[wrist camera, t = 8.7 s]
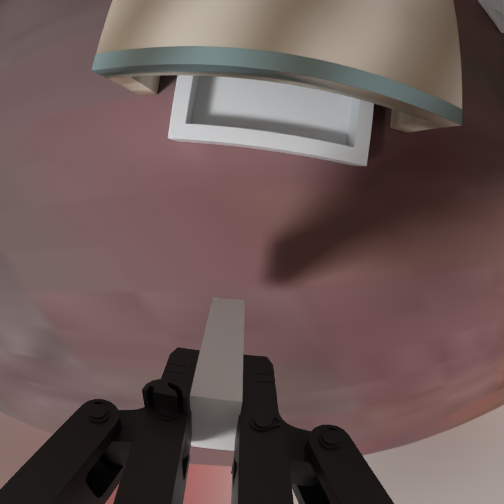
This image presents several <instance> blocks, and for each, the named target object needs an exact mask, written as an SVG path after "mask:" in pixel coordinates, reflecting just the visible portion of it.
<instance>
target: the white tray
mask: <svg viewBox="0 0 504 504" xmlns="http://www.w3.org/2000/svg"><path fill="white" fill-rule="evenodd" d="M373 108H374V103H371V102H367V101H363V100H360V99H356V98H352V97H348V96H344V95H340V94H336V93H331V92H327V91H322V90H317V89H312V88H307V87H301V86H296V85H290V84H283V83H277V82H269V81H261V80H253V79H243V78H232V77H217V76H194V75H178V77H177V82H176V88H175V94H174V100H173V106H172V113H171V119H170V126H169V134H168V139H172V140H175V141H181V142H195V143H208V144H218V145H228V146H237V147H246V148H254V149H262V150H269V151H276V152H282V153H289V154H295V155H301V156H307V157H312V158H318V159H323V160H328V161H333V162H338V163H343V164H348V165H353V166H367V160H368V153H369V145H370V137H371V128H372V119H373Z"/></svg>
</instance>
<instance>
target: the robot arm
mask: <svg viewBox="0 0 504 504" xmlns="http://www.w3.org/2000/svg"><path fill="white" fill-rule="evenodd" d="M244 302H245V301H243V300H234V299H225V298H216V297H213V299H212V303H211V307H210V311H209V315H208V320H207V324H206V328H205V332H204V336H203V340H202V345H201V349H200V351H199V350H192V349H185V348H177V349H176V350H174V351H173V352H172V353H171V354H170V356H169V359H168V361H167V365H166V367H165V370H164V372H163V375H162V378H161V379H158V380H154V381H151V382H150V383H148V384H146V385H145V387H144V388H143V389H142V392H143V399H144V405H145V407H144V408H141V409H137V410H118V409H117V407H116V406H115V405H114V404H112V403H111V402H109V401H106V400H103V399H94V400H90V401H87V402H86V403H84V404H83V405H82V406H81V407H80V408H79V409H78V410H77V411H76V412H75V413H74V414H73V415H72V416H71V417H70V418H69V419H68V420H67V421H66V422H65V423H64V424H63V425H62V426H61V427H60V428H59V429H58V430H57V431H56V432H55V433H54V434H53V435H52V436H51V437H50V438H49V439H48V440H47V441H46V443H44V445H43V446H42V447H41V448H40V449H39V450H38V451H37V452H36V453H35V454H34V455H33V456H32V457H31V458H30V459H29V460H28V461H27V462H26V463H25V464H24V465H23V466H22V467H21V468H20V469H19V470H18V471H17V472H16V474H15V475H14V476H13V477H12V478H11V479H10V480H9V481H8V482H7V483H6V484H5V485H4V486H3V487H2V488H1V489H0V504H105V503H106V501H107V500H108V498H109V497H110V496H111V494H112V493H113V491H114V490H115V488H116V487H117V485H118V484H119V483H120V484H119V487H118V490H117V493H116V497H115V500H114V503H113V504H183V499H184V492H185V485H186V478H187V473H188V466H189V460H190V455H189V451H190V445H191V446H196V447H203V448H211V449H220V450H231V451H234V460H233V466H232V472H231V473H232V499H231V504H294V503H293V494H292V489H293V491H294V493H295V496H296V498H297V500H298V503H299V504H394V503H393V501H392V500H391V498H390V497H389V495H388V494H387V493H386V491H385V489H384V488H383V486H382V485H381V483H380V482H379V480H378V479H377V477H376V476H375V474H374V473H373V471H372V470H371V468H370V467H369V465H368V464H367V462H366V461H365V459H364V458H363V456H362V454H361V453H360V451H359V450H358V448H357V447H356V445H355V444H354V442H353V441H352V439H351V438H350V436H349V435H348V434H347V433H346V432H345V431H344V430H343V429H341V428H339V427H338V426H333V425H321V426H318V427H316V428H314V429H313V430H312V431H307V430H303V429H299V428H296V427H293V426H291V425H289V424H287V423H286V422H285V421H284V420H283V419H282V418H281V416H280V415H279V411H278V404H277V395H276V386H275V378H274V369H273V364H272V363H271V362H270V360H269V359H268V358H267V357H264V356H252V355H243V346H244Z"/></svg>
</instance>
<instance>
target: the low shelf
mask: <svg viewBox="0 0 504 504" xmlns="http://www.w3.org/2000/svg"><path fill="white" fill-rule="evenodd" d="M92 71H94V72H96V73H98V74H100V75H102V76H104V77H106V78H108V79H110V80H112V81H114V82H116V83H118V84H119V85H121V86H123V87H125V88H127V89H129V90H131V91H133V92H134V93H136V94H138V95H143V94H157V92H158V86H159V81H160V75H194V76H217V77H232V78H243V79H253V80H261V81H269V82H277V83H283V84H290V85H296V86H301V87H307V88H312V89H317V90H322V91H327V92H331V93H336V94H340V95H344V96H348V97H352V98H356V99H360V100H363V101H367V102H371V103H374V104H377V105H381V106H384V107H387V108H390V109H392V111H391V122H390V128H393V129H397V130H400V131H403V132H406V133H408V132H415V131H422V130H429V129H436V128H444V127H453V126H462V112H463V109H462V71H461V55H460V44H459V34H458V27H457V20H456V13H455V8H454V2H453V0H113V1H112V4H111V7H110V9H109V12H108V15H107V18H106V22H105V25H104V28H103V31H102V35H101V38H100V42H99V46H98V49H97V53H96V55H95V59H94V63H93V67H92Z"/></svg>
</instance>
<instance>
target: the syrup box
mask: <svg viewBox="0 0 504 504" xmlns="http://www.w3.org/2000/svg"><path fill="white" fill-rule="evenodd" d="M478 2H479V3H480V4H481V6H482V7H483V8H484V10H485V11H486V12H487V14H488V15H489V16H490V18H491V19H492V21H493V22H494V23H495V25H496V26H497V28H498V29H499V31H500V32H501V33H504V0H478Z"/></svg>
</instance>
